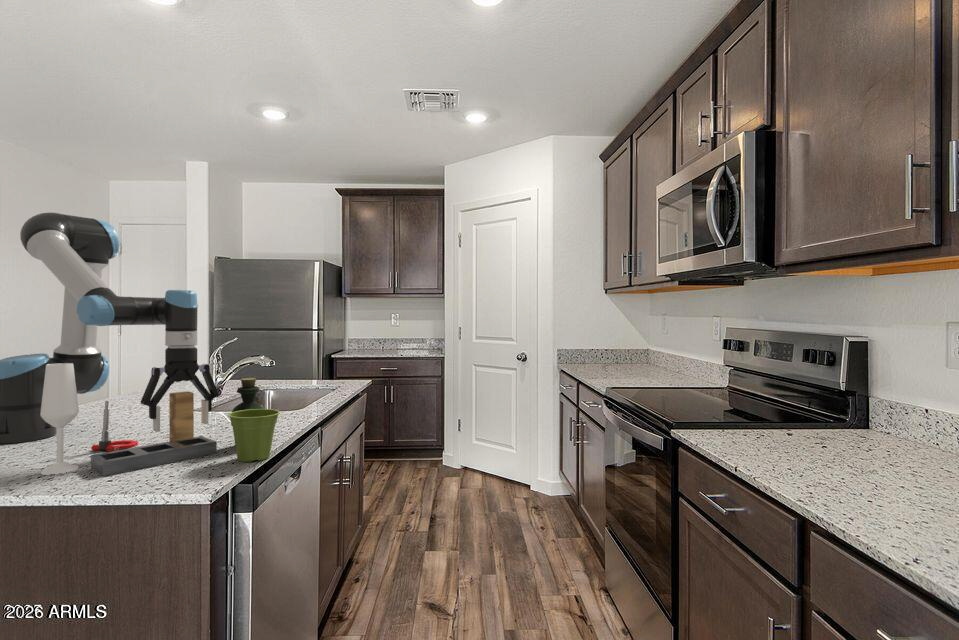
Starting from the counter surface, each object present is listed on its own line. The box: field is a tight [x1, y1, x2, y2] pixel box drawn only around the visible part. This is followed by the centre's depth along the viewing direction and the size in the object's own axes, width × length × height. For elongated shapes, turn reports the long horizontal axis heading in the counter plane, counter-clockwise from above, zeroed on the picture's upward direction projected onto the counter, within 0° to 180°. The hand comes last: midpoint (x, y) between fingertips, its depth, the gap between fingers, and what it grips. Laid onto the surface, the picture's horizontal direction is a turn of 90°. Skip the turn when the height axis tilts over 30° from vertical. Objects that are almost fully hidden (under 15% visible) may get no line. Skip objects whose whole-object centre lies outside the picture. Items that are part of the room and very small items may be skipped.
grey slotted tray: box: [90, 435, 218, 477], centre depth 123 cm, size 9×24×3 cm, turn 141°
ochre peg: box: [168, 390, 195, 442], centre depth 138 cm, size 4×4×14 cm
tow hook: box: [91, 400, 139, 452], centre depth 135 cm, size 8×13×9 cm
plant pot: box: [227, 408, 281, 463], centre depth 125 cm, size 12×12×11 cm
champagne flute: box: [40, 363, 80, 476], centre depth 115 cm, size 7×7×24 cm
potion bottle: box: [231, 377, 265, 412], centre depth 137 cm, size 8×8×18 cm
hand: (181, 427), depth 138 cm, fingers open, 11 cm apart
